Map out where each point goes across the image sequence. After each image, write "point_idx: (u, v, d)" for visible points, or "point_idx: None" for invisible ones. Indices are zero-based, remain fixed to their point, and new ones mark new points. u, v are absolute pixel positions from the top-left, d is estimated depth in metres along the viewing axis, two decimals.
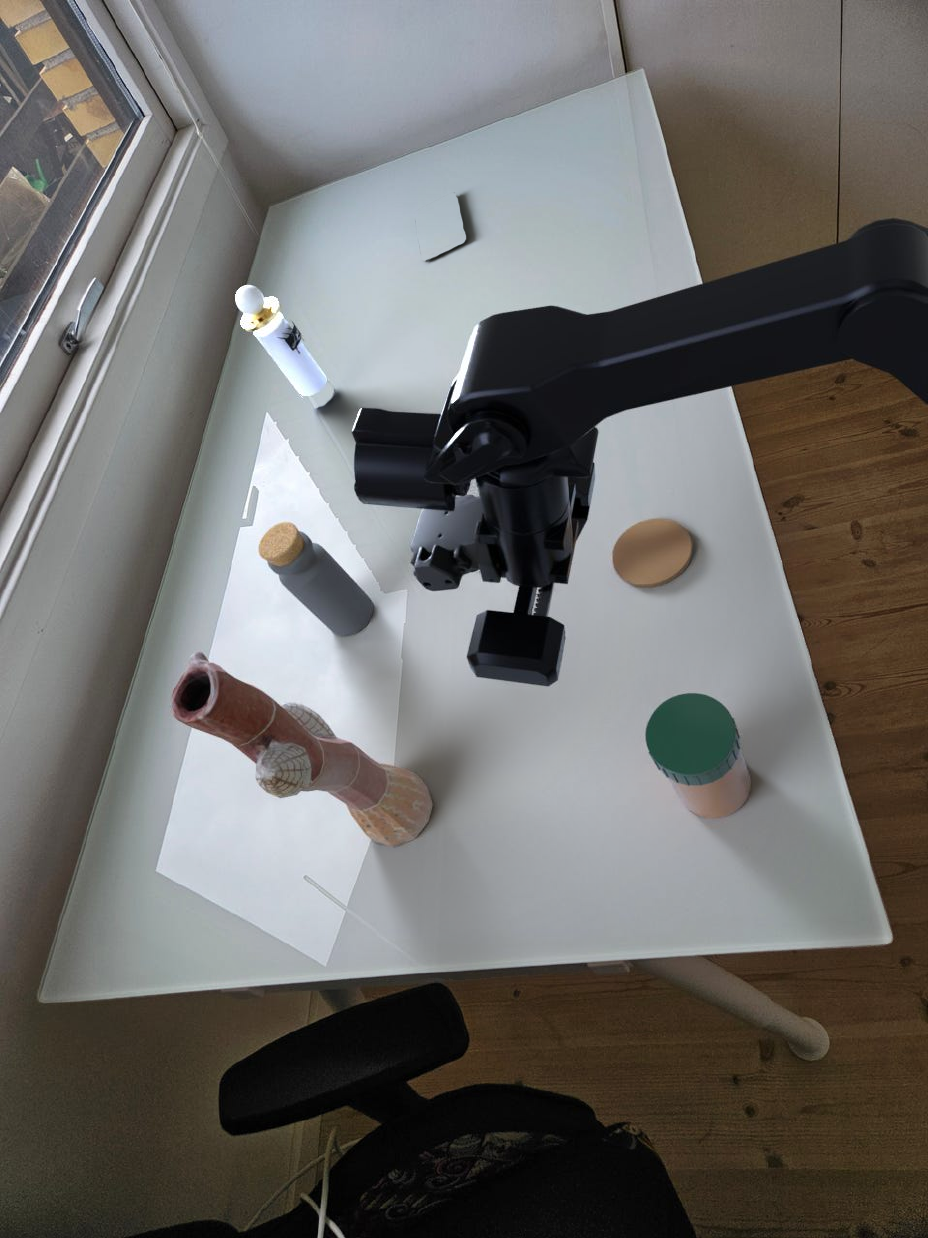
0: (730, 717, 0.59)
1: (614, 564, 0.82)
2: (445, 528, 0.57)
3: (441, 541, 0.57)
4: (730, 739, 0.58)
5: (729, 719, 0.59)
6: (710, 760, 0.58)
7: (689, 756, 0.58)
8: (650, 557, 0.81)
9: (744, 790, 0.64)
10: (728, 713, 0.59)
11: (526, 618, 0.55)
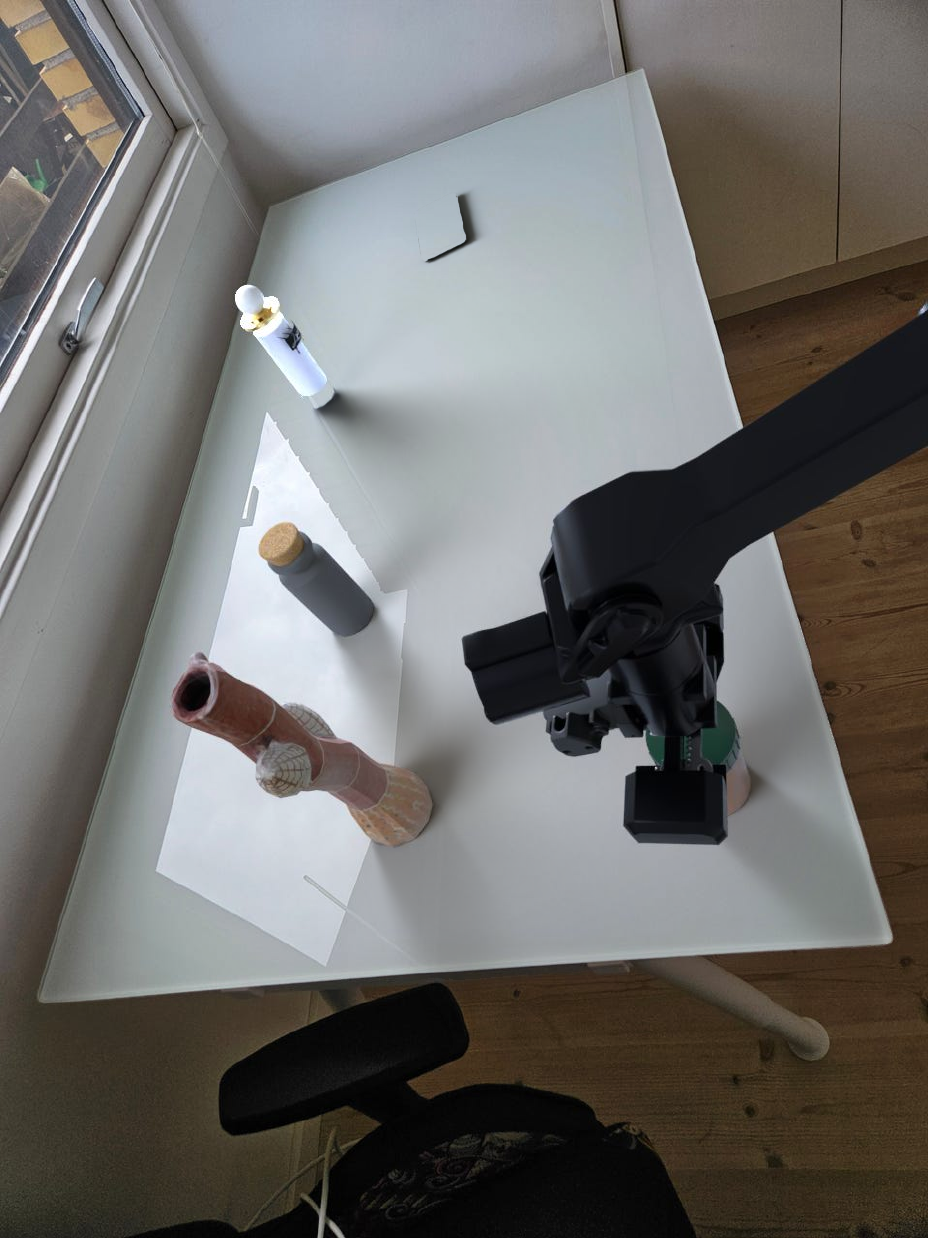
0: (730, 718, 0.59)
1: None
2: None
3: (573, 705, 0.54)
4: (730, 739, 0.58)
5: (729, 719, 0.59)
6: (710, 760, 0.58)
7: None
8: None
9: (744, 790, 0.64)
10: (728, 713, 0.59)
11: (679, 775, 0.51)
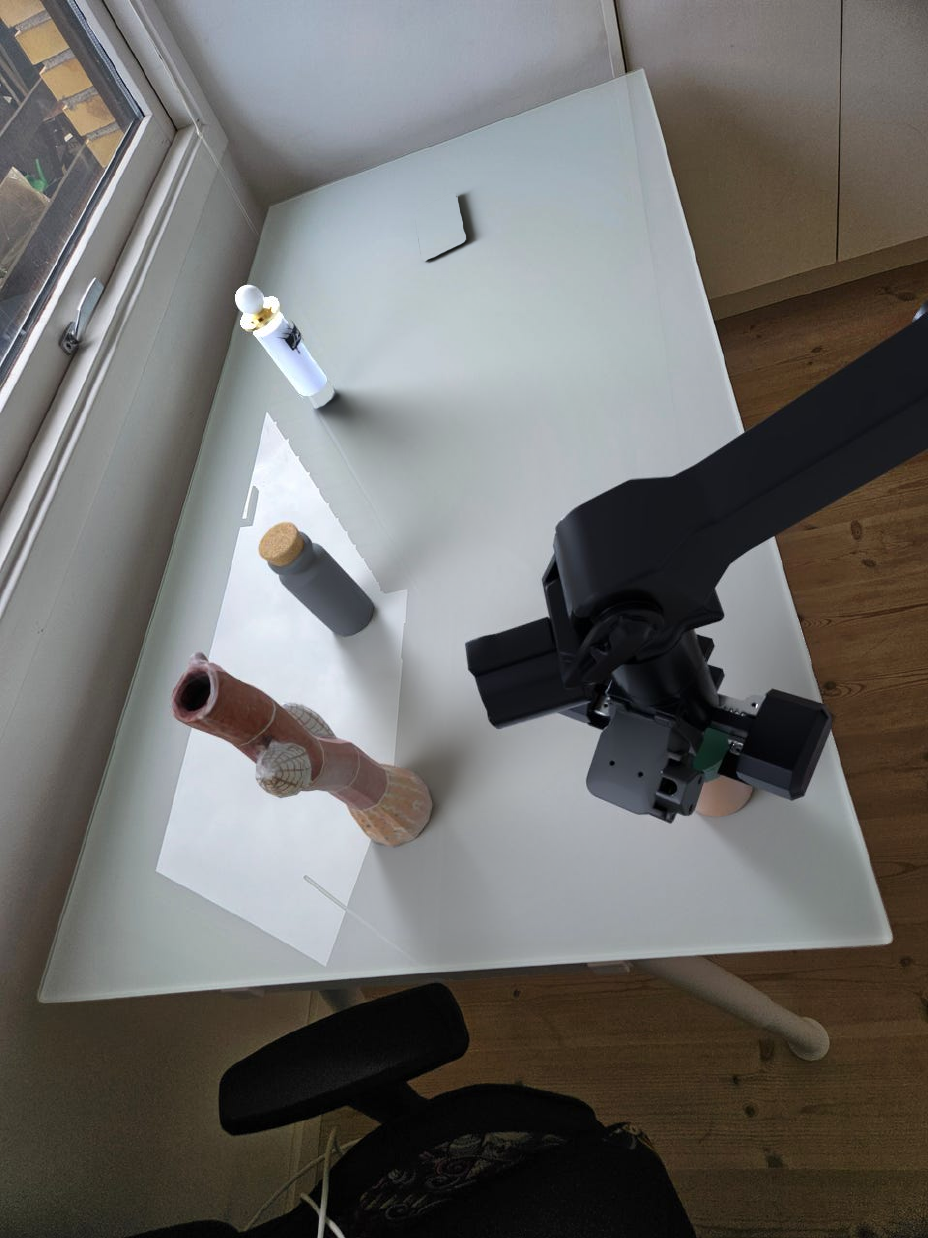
0: None
1: None
2: (633, 766, 0.51)
3: (649, 773, 0.50)
4: None
5: None
6: None
7: (713, 738, 0.58)
8: None
9: (746, 788, 0.64)
10: None
11: (761, 716, 0.51)
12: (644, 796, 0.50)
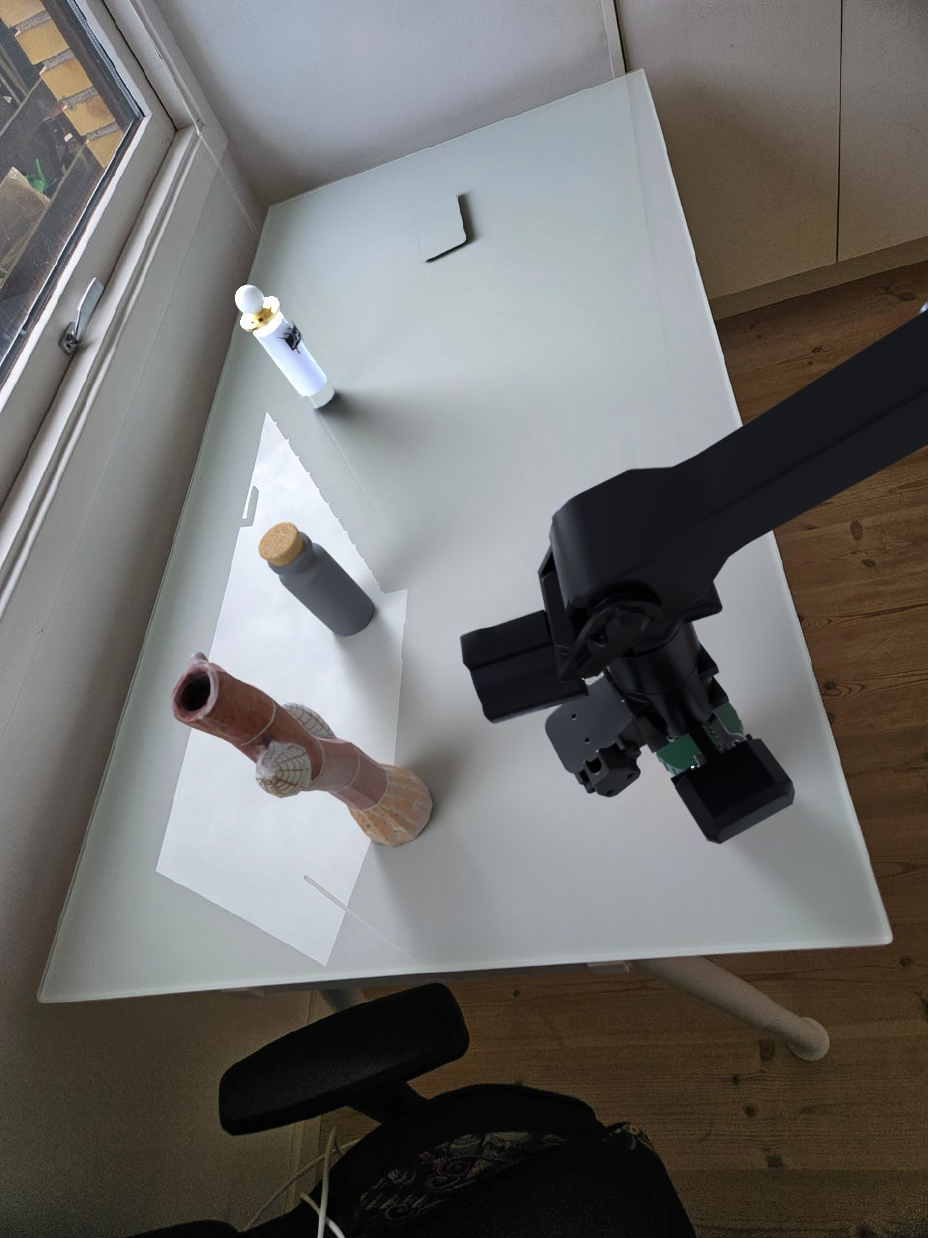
0: None
1: None
2: (586, 730, 0.53)
3: (593, 744, 0.52)
4: None
5: None
6: (721, 706, 0.59)
7: None
8: None
9: None
10: None
11: (726, 756, 0.50)
12: (578, 759, 0.52)
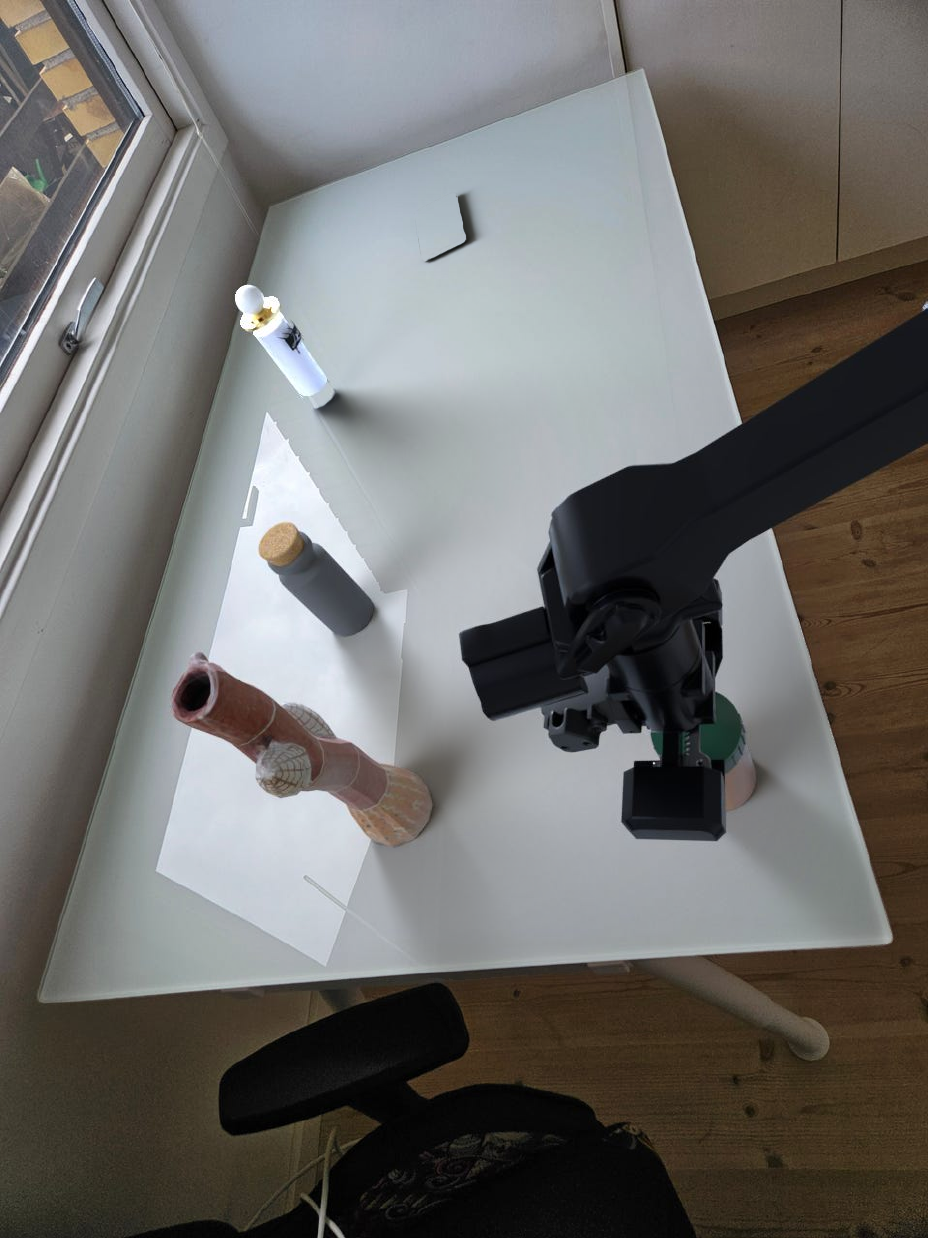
0: None
1: None
2: None
3: (571, 700, 0.54)
4: None
5: None
6: None
7: None
8: None
9: (750, 784, 0.64)
10: None
11: (678, 771, 0.51)
12: (554, 706, 0.55)
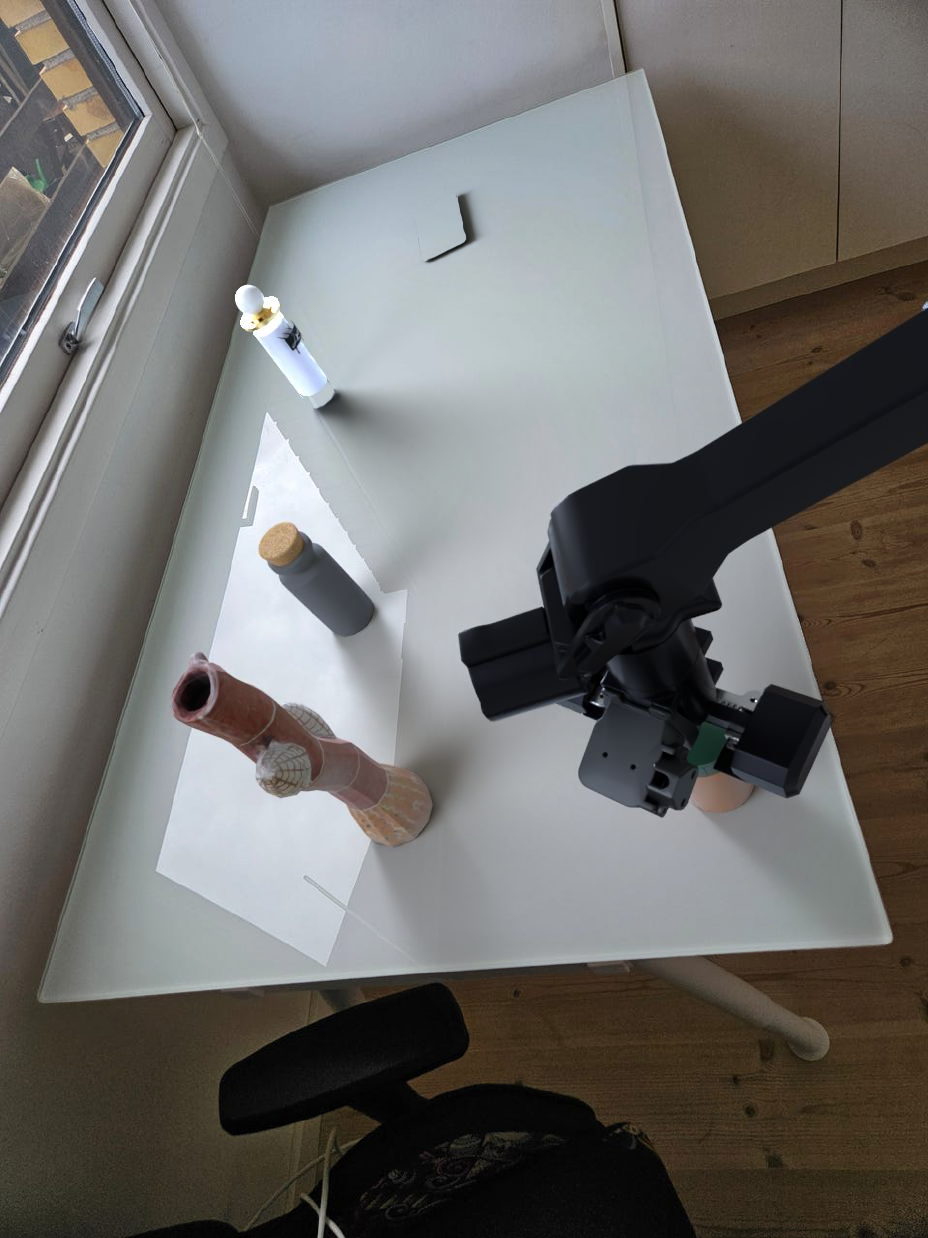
0: None
1: None
2: (626, 759, 0.50)
3: (642, 766, 0.50)
4: None
5: None
6: None
7: None
8: None
9: (749, 783, 0.64)
10: None
11: (758, 712, 0.51)
12: (636, 789, 0.50)
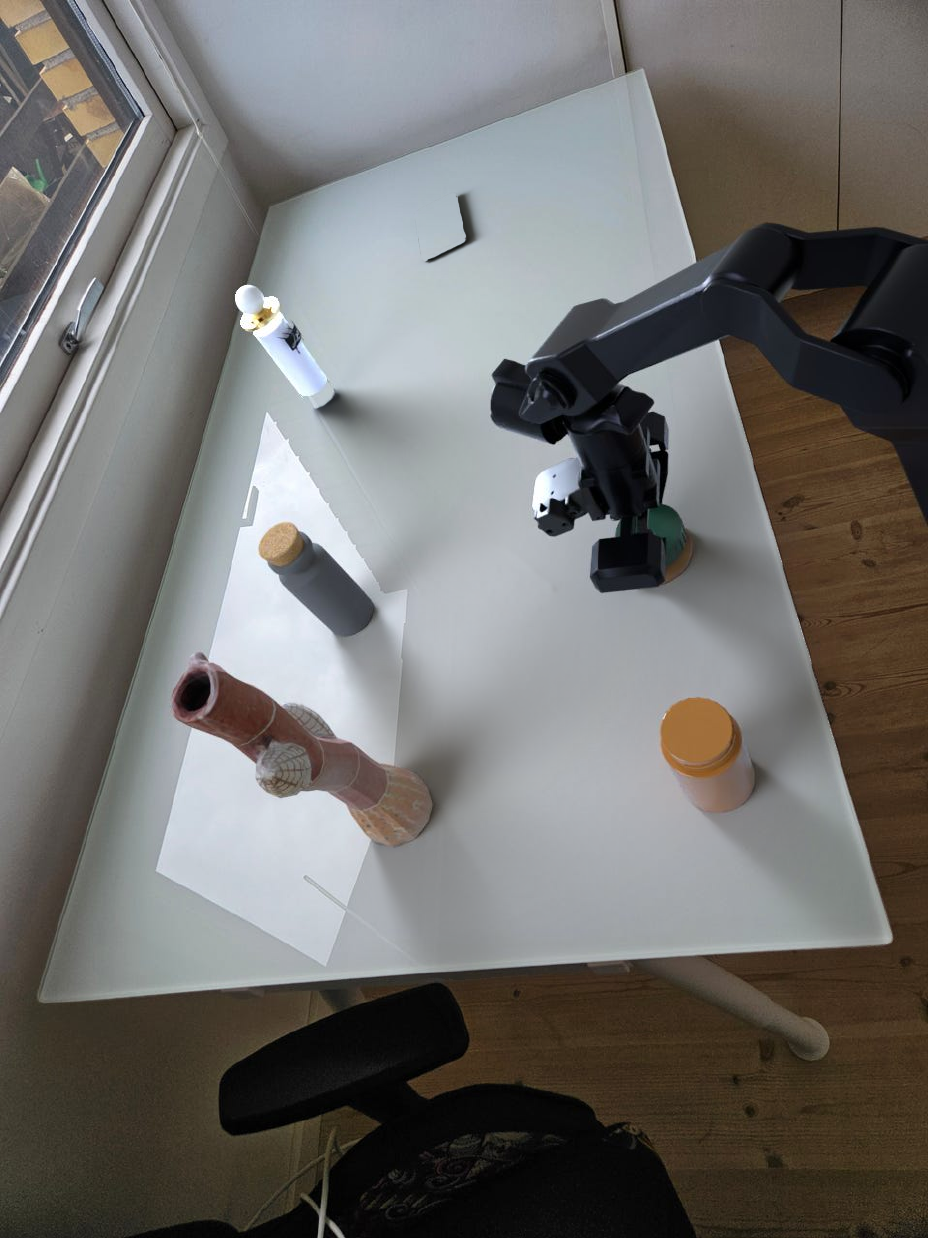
0: (619, 522, 0.80)
1: None
2: (555, 486, 0.74)
3: (554, 496, 0.73)
4: None
5: None
6: None
7: (661, 516, 0.78)
8: None
9: (749, 783, 0.64)
10: (617, 525, 0.80)
11: (630, 537, 0.70)
12: (541, 503, 0.74)
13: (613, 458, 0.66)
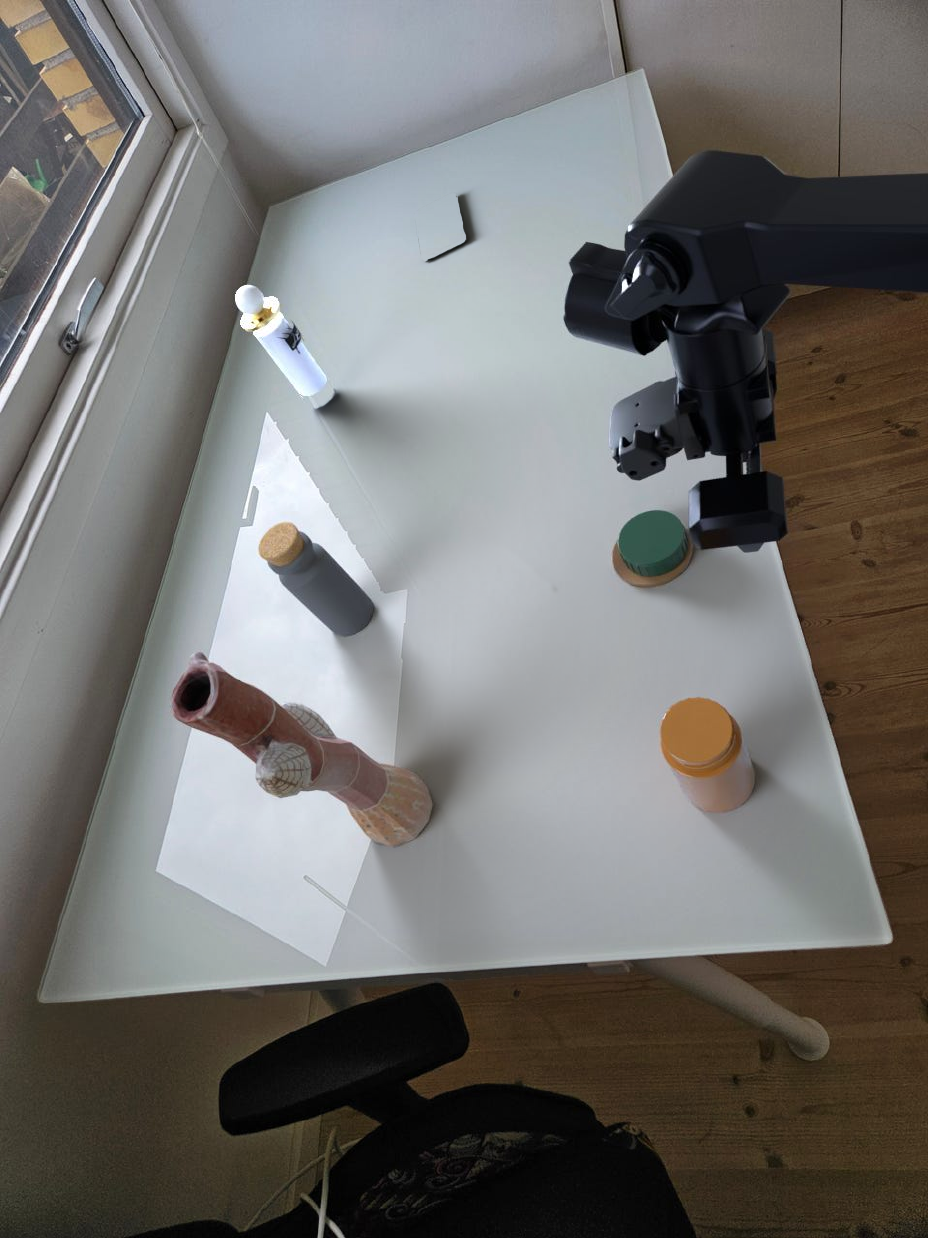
0: (622, 529, 0.81)
1: (614, 564, 0.82)
2: (640, 417, 0.58)
3: (639, 429, 0.58)
4: (634, 518, 0.81)
5: (623, 528, 0.81)
6: (655, 514, 0.80)
7: (663, 523, 0.79)
8: None
9: (749, 783, 0.64)
10: (620, 532, 0.81)
11: (742, 478, 0.55)
12: None
13: (726, 370, 0.51)
